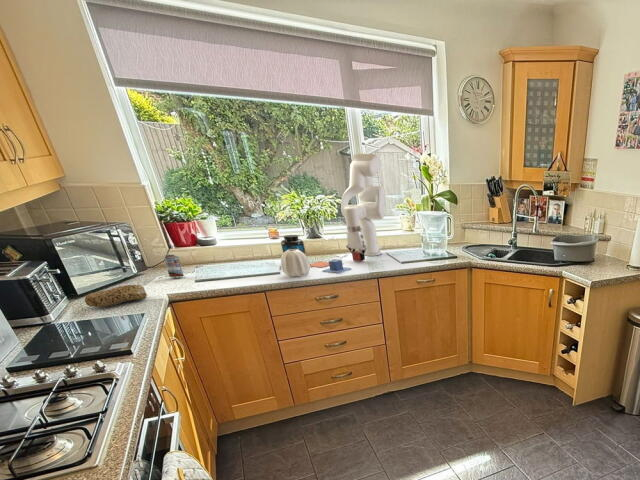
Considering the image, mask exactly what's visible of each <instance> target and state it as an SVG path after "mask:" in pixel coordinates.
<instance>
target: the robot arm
mask: <svg viewBox="0 0 640 480" xmlns="http://www.w3.org/2000/svg"><path fill="white" fill-rule="evenodd" d="M351 160H352V161H351V162H350V165H349V186H348V188H346V190H345V191H344V192H343V194H342V196H341V200H340V202H341V203H340V212H341V215H342V216H343V217H344V219H345V225H346V230H347V231H346V240H347V244H346V246H345V247H346V248H347V249H348V250H349V252H350V253H351V254H352V252H355V251H356V250H358V251H360V253H361V254H360V257H361V261H360V262H363V261H365V260H366V257H365V256H367V257H368V256H369V257H374V256H380V255H381V254H382V252H381V249H383V248H382V246H381V245H378V238H377V229H376V225H375V224H374V222H373V221H372V220H383V219H384V218H385V213H386V211H385V210H386V194H385V190H384V188H383V187H382V186H380V185H374V178H373V177H375V176H376V175H377V174H378V172H379V171H380V169H381V166H382V161H381V157H380V156H379V155H378V154H376V153H375V154H374V153H355V154H353V155H352V157H351ZM357 195H358V198H359V200H360V201H362V202H360V203H358V204H350V203H349V202H350V201H351V199H352V198H353V197H355V196H357Z"/></svg>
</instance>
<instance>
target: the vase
mask: <svg viewBox="0 0 640 480" xmlns="http://www.w3.org/2000/svg"><path fill="white" fill-rule="evenodd" d="M280 264H281V269H282V272H283V273H284V274H285V275H287V276H288V277H303V276H306V275H308V274H309V273H310V271H311V266H310V264H311V263H310V261H309V259H308V257H307V254H306V255H305V254H304V253H303V252H301V251H300V250H297V249H290V250H287V251H285V252H284V253H283V252H282V254H281V258H280Z"/></svg>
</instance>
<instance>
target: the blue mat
mask: <svg viewBox="0 0 640 480" xmlns="http://www.w3.org/2000/svg"><path fill="white" fill-rule="evenodd" d="M349 270H352V268H351V267H344V266H343V269H341V270H338V271H335V270H330V267H329V268H327V269H324V270H322V272H323V273H331V274H341V273H344V272H346V271H349Z"/></svg>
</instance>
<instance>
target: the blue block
mask: <svg viewBox="0 0 640 480" xmlns="http://www.w3.org/2000/svg"><path fill="white" fill-rule="evenodd" d="M328 262H329V266H328V267H329V268H330V270H335V271H338V270H341V269H343V267H344V265H343V260H342V259H337V258H336V259H335V258H334V259H330V260H328Z"/></svg>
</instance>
